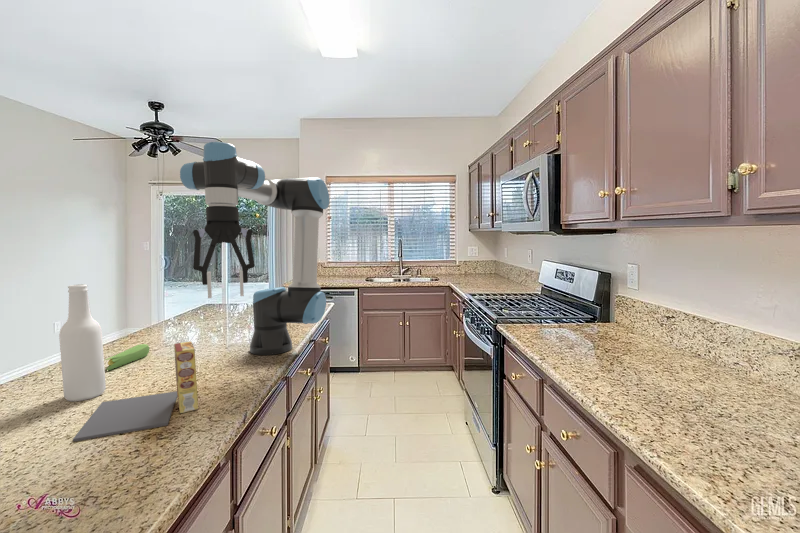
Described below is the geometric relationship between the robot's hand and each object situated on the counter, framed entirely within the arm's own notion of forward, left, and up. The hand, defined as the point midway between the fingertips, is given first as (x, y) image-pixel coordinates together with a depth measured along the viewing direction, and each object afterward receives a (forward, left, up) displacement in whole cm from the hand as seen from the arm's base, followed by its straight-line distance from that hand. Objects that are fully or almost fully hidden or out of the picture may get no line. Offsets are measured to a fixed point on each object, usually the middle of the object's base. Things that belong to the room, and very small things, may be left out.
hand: (226, 296), depth 99 cm
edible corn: (+33, -48, -27) cm, 64 cm away
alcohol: (+36, -19, -27) cm, 49 cm away
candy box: (+10, 0, -27) cm, 29 cm away
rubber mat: (+21, 0, -27) cm, 35 cm away
